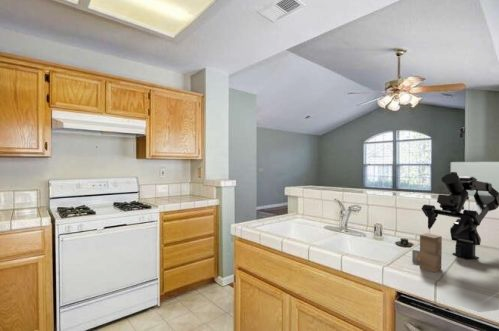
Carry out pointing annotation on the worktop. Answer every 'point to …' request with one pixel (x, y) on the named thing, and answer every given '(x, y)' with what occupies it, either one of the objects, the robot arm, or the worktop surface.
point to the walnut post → (430, 252)
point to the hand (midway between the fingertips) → (441, 230)
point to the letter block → (416, 254)
